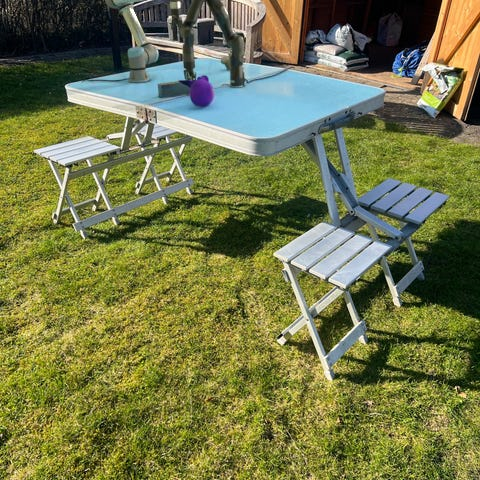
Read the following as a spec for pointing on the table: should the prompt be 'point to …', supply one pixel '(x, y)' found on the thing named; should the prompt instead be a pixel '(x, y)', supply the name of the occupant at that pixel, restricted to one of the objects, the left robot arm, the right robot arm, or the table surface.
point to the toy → (200, 91)
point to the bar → (172, 89)
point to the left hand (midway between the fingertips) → (178, 41)
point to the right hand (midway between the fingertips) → (190, 87)
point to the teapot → (227, 60)
